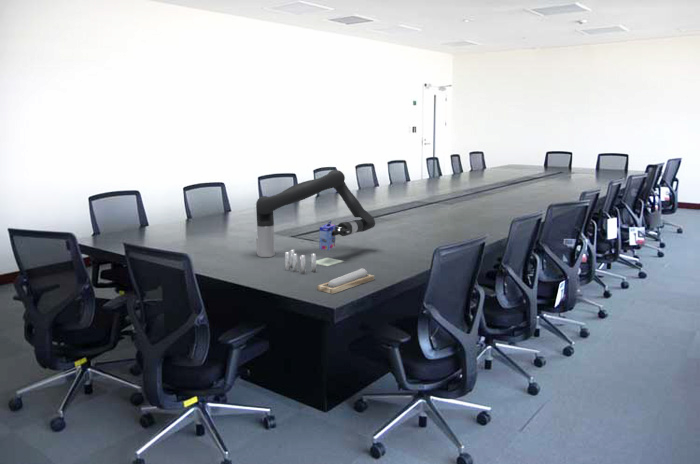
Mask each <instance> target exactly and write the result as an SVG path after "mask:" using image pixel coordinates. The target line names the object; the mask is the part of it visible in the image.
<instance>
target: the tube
mask: <svg viewBox="0 0 700 464" xmlns="http://www.w3.org/2000/svg"><path fill="white" fill-rule="evenodd" d="M367 276H368V271H367V270H366V269H365V268H363V267H362V268H361V267H360V269H359V268H358V269H357V270H354V271H352V272H349V273H346V274H344V275H341V276H339V277H335V278H333V279H331V280H330V281H328V282H329V283H328V287H330V288H334V287H337V286H340V285H343V284H346V283H349V282H352V281H355V280H358V279H361V278H364V277H367Z"/></svg>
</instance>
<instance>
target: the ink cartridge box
mask: <svg viewBox="0 0 700 464" xmlns="http://www.w3.org/2000/svg"><path fill="white" fill-rule="evenodd" d="M336 226H337V225H336V224H332V220H330V221H328V222H327V223H325V224H323V225H321V226H319V237H318V238H319V246H318V247H319V250H322V251H330V250H333V249H334V248H335V247H336V235H335V236H332V232H333V231H336Z"/></svg>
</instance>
